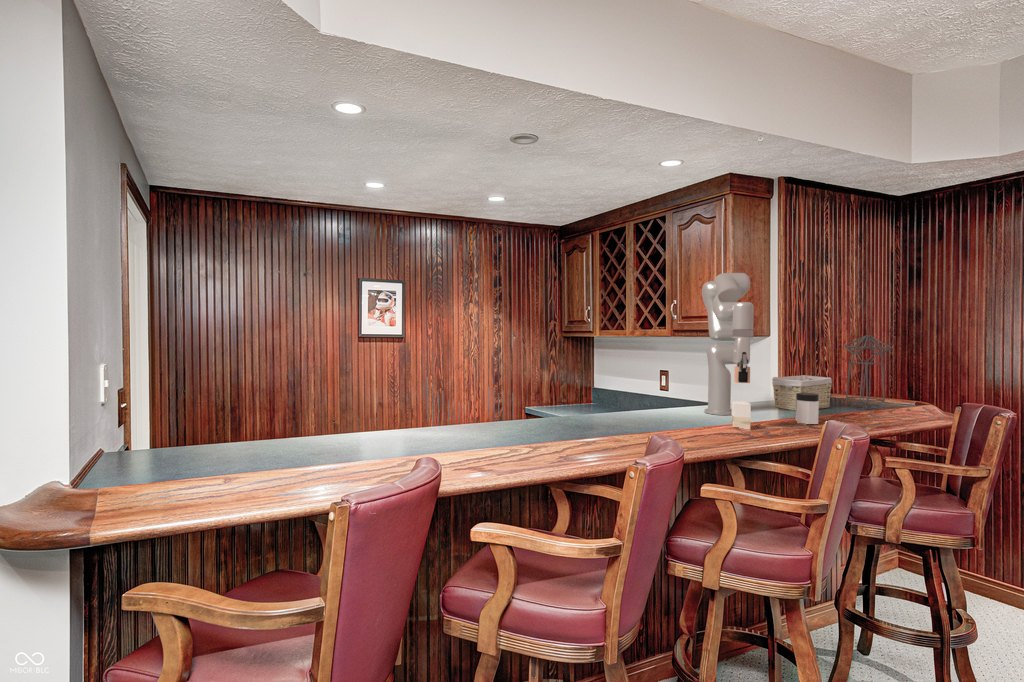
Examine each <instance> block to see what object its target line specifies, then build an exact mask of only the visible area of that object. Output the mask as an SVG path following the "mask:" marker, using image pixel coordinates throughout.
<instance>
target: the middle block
mask: <svg viewBox="0 0 1024 682" xmlns="http://www.w3.org/2000/svg"><path fill="white" fill-rule="evenodd" d="M751 406H752V404H751V403H750V402H748V401H731V410H732V415H733V416H734V417H751V415H752V413H751V411H752V410H751V409H752V408H751ZM732 415H731V416H732Z"/></svg>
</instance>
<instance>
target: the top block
mask: <svg viewBox="0 0 1024 682" xmlns="http://www.w3.org/2000/svg"><path fill="white" fill-rule="evenodd" d="M733 368H734V370H733V371H734V374H733V382H734V383H735V384H736V383H738V384H750V383H751V366H748V365H747V372H748V382H739V381H738V374H739V366H737V365H734V366H733Z"/></svg>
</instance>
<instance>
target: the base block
mask: <svg viewBox="0 0 1024 682" xmlns="http://www.w3.org/2000/svg"><path fill="white" fill-rule="evenodd" d="M731 424H732V425H733V427H739V428H744V429H750V430H751V416H750V417H734V416H733V415H731Z"/></svg>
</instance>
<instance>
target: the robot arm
mask: <svg viewBox="0 0 1024 682" xmlns="http://www.w3.org/2000/svg"><path fill="white" fill-rule="evenodd" d="M750 288H751V279H750V277H749V275H748V274H746V273H745V272H723V273H722V272H721V273H720V274H717V275H716V277H715V278H714V280H710V281H707V282H705V283H703V285H702V288H701V296H702V301H703V304H704V307H705V309H706V312H707V324H708V334H709V335H708V336H709V338H710V339H711V340H712V341H717V342H713V343H711V344H709V345H708V347H707V348H706V357H707V366H708V374H707V376H708V382H707V383H708V389H707V390H708V391H707V398H708V399H707V408H705V409H704V410H703V412H704V413H706V414H710V415H716V416H729V415H730V416H732V409H731V403H732V401H731V400H732V399H731V396H732V395H731V391H732V390H731V389H732V374H731V372H730V370H729V369H728V367H727V366H726V365H736V366H739V374H738V381H739V382H748V372H747V366H748V364H750V362H751V339H754V316H755V315H754V312H755V311H754V310H755V308H754V304H753V303H752V302H749V301H739V300H740V299H742V298H743V297H744V296H745V295H746V294H747V293H748V291H749V290H750Z"/></svg>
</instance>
